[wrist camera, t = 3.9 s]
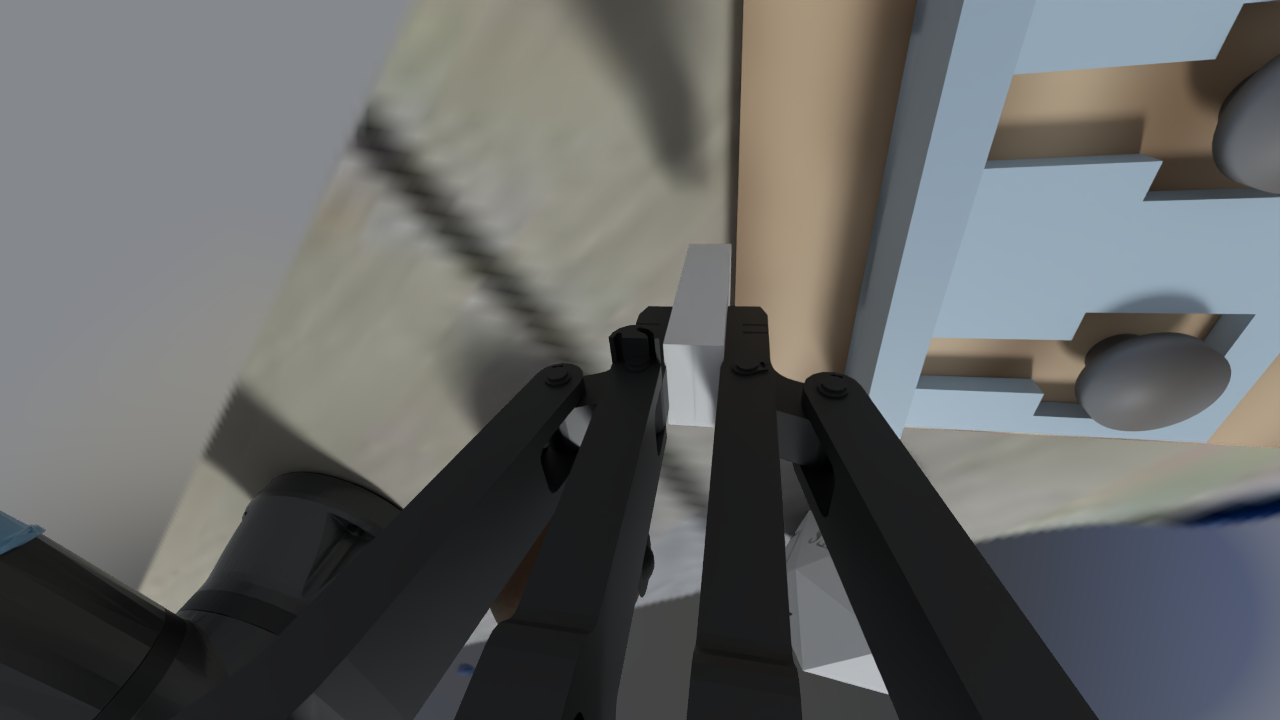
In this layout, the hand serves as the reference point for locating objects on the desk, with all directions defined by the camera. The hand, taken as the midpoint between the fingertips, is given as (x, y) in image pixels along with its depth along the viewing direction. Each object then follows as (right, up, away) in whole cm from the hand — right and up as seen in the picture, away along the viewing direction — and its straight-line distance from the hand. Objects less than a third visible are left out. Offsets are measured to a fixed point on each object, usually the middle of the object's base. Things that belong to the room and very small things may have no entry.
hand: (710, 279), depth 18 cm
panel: (+13, +1, -1) cm, 13 cm away
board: (+13, +2, 0) cm, 13 cm away
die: (+10, -14, +13) cm, 21 cm away
